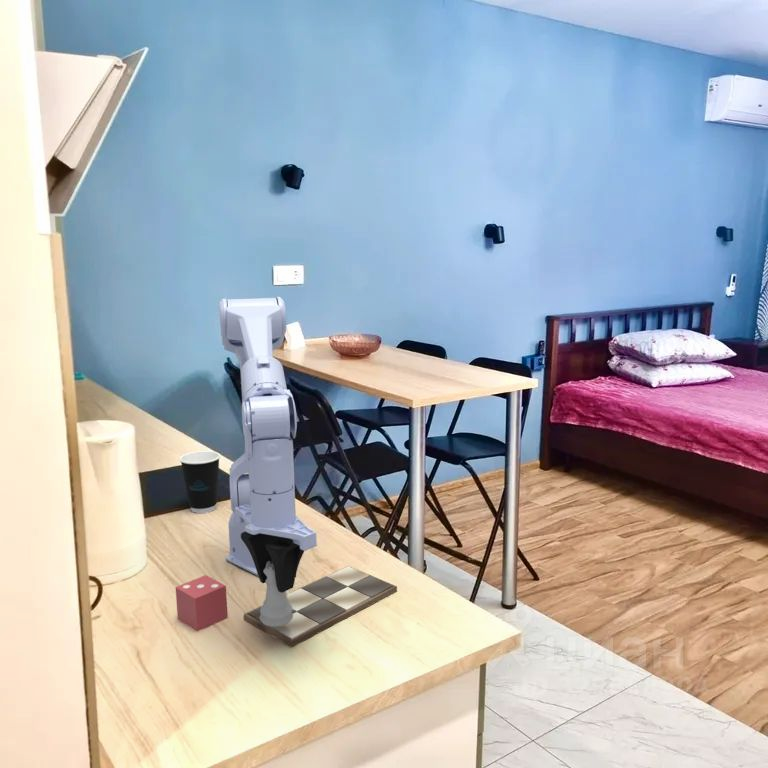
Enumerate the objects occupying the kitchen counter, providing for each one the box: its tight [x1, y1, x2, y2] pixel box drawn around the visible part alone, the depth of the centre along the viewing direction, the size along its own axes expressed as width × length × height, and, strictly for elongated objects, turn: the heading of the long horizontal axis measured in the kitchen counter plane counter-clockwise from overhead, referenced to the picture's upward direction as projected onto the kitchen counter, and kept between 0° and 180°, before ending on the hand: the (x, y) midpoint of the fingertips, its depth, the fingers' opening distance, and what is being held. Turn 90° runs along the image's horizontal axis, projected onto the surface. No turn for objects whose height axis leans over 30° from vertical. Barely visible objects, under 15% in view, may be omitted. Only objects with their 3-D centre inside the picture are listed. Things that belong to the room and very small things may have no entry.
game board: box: [243, 565, 398, 648], centre depth 105 cm, size 11×21×1 cm, turn 137°
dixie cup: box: [178, 450, 221, 514], centre depth 143 cm, size 8×8×11 cm
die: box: [174, 574, 229, 632], centre depth 102 cm, size 5×5×5 cm
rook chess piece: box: [260, 561, 293, 627], centre depth 95 cm, size 4×4×8 cm
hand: (276, 584), depth 95 cm, fingers closed on rook chess piece, 3 cm apart
